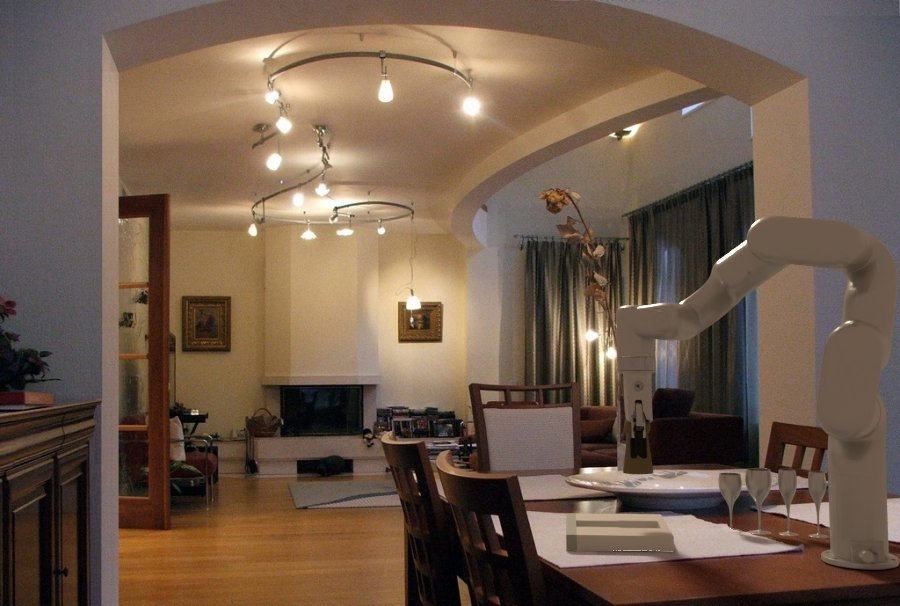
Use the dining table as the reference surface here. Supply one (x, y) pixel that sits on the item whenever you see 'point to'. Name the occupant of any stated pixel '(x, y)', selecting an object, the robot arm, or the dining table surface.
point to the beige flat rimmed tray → (617, 532)
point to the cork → (637, 456)
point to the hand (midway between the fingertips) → (637, 456)
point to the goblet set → (761, 485)
